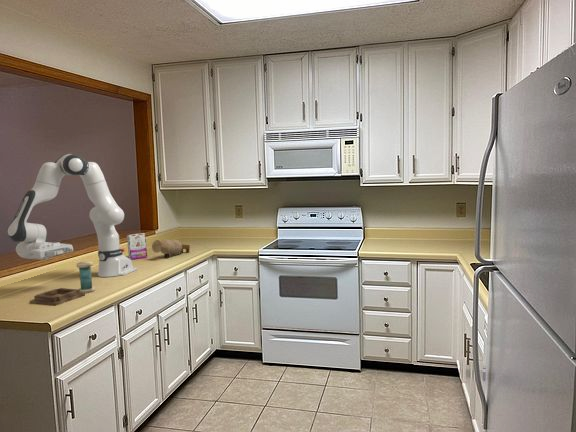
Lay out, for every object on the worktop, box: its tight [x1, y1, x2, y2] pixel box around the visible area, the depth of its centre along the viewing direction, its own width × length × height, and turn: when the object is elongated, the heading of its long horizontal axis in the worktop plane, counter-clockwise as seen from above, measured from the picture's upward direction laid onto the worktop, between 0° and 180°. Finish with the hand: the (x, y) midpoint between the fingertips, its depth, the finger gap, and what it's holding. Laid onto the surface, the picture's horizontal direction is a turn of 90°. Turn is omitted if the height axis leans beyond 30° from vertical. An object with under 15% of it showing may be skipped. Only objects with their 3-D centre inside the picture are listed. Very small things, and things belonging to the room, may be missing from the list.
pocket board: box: [29, 287, 86, 306], centre depth 206 cm, size 16×16×3 cm
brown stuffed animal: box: [151, 239, 191, 259], centre depth 302 cm, size 10×12×30 cm
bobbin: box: [76, 261, 96, 294], centre depth 217 cm, size 7×7×14 cm
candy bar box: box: [126, 232, 148, 261], centre depth 300 cm, size 11×5×16 cm, turn 126°
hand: (64, 251), depth 220 cm, fingers open, 8 cm apart
